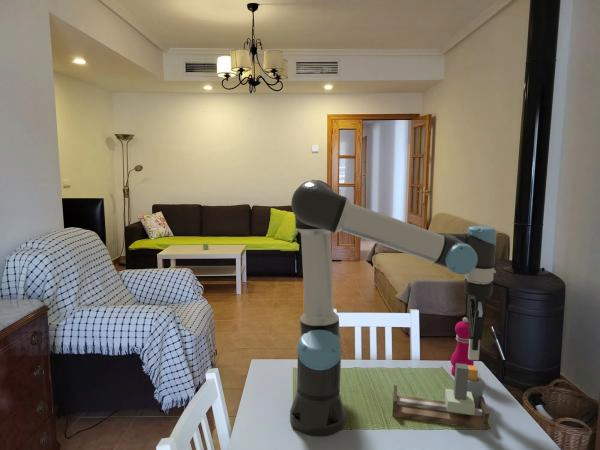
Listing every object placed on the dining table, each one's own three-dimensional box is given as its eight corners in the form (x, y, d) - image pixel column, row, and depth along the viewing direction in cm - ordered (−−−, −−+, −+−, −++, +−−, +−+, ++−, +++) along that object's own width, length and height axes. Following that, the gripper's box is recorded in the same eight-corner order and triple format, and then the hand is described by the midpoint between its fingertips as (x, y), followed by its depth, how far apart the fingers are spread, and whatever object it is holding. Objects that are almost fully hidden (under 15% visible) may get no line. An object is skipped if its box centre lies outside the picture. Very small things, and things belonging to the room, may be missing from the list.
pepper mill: (474, 380, 144) (479, 322, 141) (451, 378, 146) (455, 320, 143) (470, 370, 151) (475, 314, 148) (448, 368, 153) (452, 312, 150)
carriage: (447, 411, 121) (450, 370, 119) (444, 398, 127) (447, 359, 126) (474, 415, 119) (477, 373, 117) (470, 401, 126) (473, 362, 124)
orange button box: (459, 406, 129) (461, 380, 128) (457, 396, 135) (458, 371, 133) (481, 409, 127) (483, 383, 126) (477, 398, 133) (480, 373, 132)
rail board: (392, 415, 123) (393, 400, 123) (393, 399, 132) (393, 385, 131) (487, 429, 118) (489, 414, 117) (481, 411, 126) (483, 396, 126)
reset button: (465, 388, 129) (467, 369, 128) (464, 383, 132) (465, 364, 131) (476, 390, 128) (478, 370, 128) (474, 385, 131) (476, 366, 131)
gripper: (497, 287, 118) (491, 370, 122) (488, 275, 131) (483, 351, 134) (468, 285, 120) (462, 367, 124) (461, 274, 133) (457, 348, 136)
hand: (473, 358), depth 129 cm, fingers closed
